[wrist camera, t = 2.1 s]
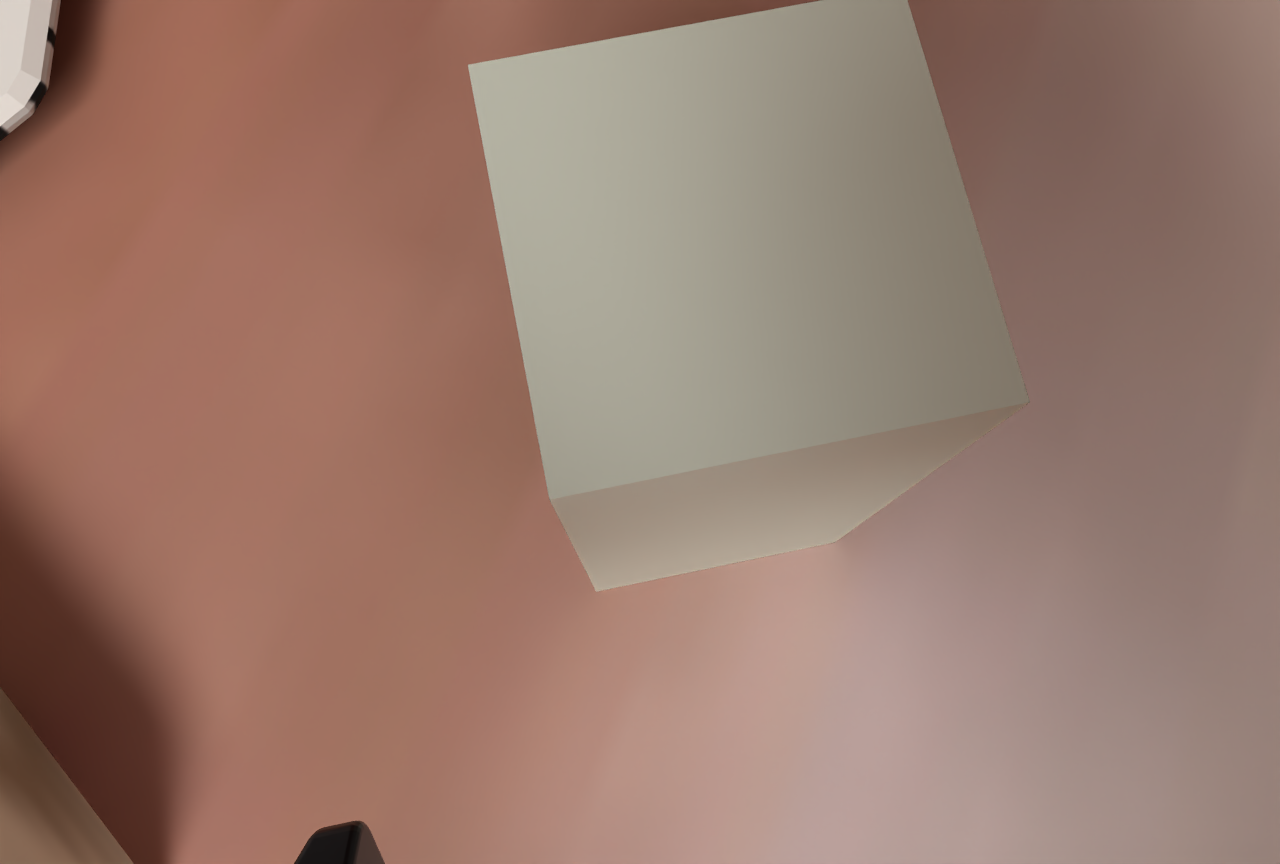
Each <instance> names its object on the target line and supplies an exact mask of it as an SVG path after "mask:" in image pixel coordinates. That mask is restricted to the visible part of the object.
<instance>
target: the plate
mask: <svg viewBox="0 0 1280 864" xmlns="http://www.w3.org/2000/svg"><path fill="white" fill-rule="evenodd" d="M60 3H61V0H0V141H1V140H2V139H3V138H4V137H6V136H7V135H8V134H9V133H11V132H12V131H13V130H14V129H15V128H17V127H18V126H19V125H20V124H22V123H23V122H24V121H25V120H27V119H28V118H29V117H30V116H32V115H33V113H34V112H35V110H36V108H37V107H38V105H39V103H40V102H41V100H42V98H43V97H44V95H45V93H46V92H47V90H48V87H49V80H50V73H51V66H52V59H53V52H54V45H55V38H56V31H57V24H58V17H59V10H60Z"/></svg>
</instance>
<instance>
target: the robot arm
mask: <svg viewBox="0 0 1280 864" xmlns="http://www.w3.org/2000/svg"><path fill="white" fill-rule="evenodd" d="M294 864H385V863H384V860H383V858H382V856H381V854H380V851H379V849H378V847H377V845H376V842H375V840H374V838H373V836H372V833H371V831H370V829H369V828H368V826H367V825H366V824H365V823H364V822H362V821H352V822H347V823H342V824H338V825H333V826H328V827H324V828H321V829H319V830H317V831H316V832H315V833H314V834H313V835H312V836H311V837H310V838H309V840H308V841H307V843H306V845H305V846H304V848H303V850H302V851H301V853H300V855H299V856H298V858H297V860H296V861H295V863H294Z"/></svg>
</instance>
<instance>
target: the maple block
mask: <svg viewBox="0 0 1280 864" xmlns="http://www.w3.org/2000/svg"><path fill="white" fill-rule="evenodd" d="M0 864H134V863H133V862H132V861H131V859H130V858H129V857H128V855H127V854H126V853H125V851H124V850H123V849H122V847H121V846H120V845H119V843H118V842H117V841H116V839H115V838H114V837H113V835H112V834H111V833H110V831H109V830H108V829H107V827H106V826H105V825H104V824H103V822H102V821H101V820H100V818H99V817H98V816H97V814H96V813H95V812H94V810H93V809H92V808H91V806H90V805H89V804H88V802H87V801H86V800H85V798H84V797H83V796H82V794H81V793H80V792H79V790H78V789H77V788H76V787H75V785H74V784H73V783H72V781H71V780H70V779H69V777H68V776H67V775H66V773H65V772H64V771H63V769H62V768H61V767H60V765H59V764H58V763H57V761H56V760H55V759H54V757H53V756H52V755H51V753H50V752H49V751H48V750H47V748H46V747H45V746H44V744H43V743H42V742H41V740H40V739H39V738H38V736H37V735H36V734H35V732H34V731H33V730H32V728H31V727H30V726H29V724H28V723H27V722H26V720H25V719H24V718H23V716H22V715H21V714H20V713H19V711H18V710H17V709H16V707H15V706H14V705H13V703H12V702H11V701H10V699H9V698H8V697H7V695H6V694H5V693H4V691H3V690H2V689H1V687H0Z"/></svg>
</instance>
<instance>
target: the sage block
mask: <svg viewBox="0 0 1280 864" xmlns="http://www.w3.org/2000/svg"><path fill="white" fill-rule="evenodd" d="M468 68H469V73H470V79H471V84H472V89H473V95H474V100H475V105H476V111H477V116H478V121H479V127H480V132H481V137H482V143H483V148H484V153H485V159H486V164H487V169H488V175H489V180H490V185H491V191H492V196H493V201H494V207H495V212H496V217H497V223H498V228H499V233H500V239H501V244H502V249H503V255H504V260H505V265H506V271H507V276H508V281H509V287H510V292H511V297H512V303H513V308H514V313H515V319H516V324H517V329H518V334H519V340H520V345H521V350H522V356H523V361H524V366H525V372H526V377H527V382H528V388H529V393H530V398H531V404H532V409H533V414H534V420H535V425H536V430H537V436H538V441H539V446H540V452H541V457H542V462H543V468H544V473H545V478H546V484H547V489H548V494H549V500H550V502H551V504H552V506H553V507H554V509H555V511H556V513H557V515H558V517H559V519H560V521H561V523H562V525H563V527H564V529H565V531H566V533H567V535H568V537H569V539H570V541H571V543H572V545H573V547H574V549H575V551H576V553H577V555H578V557H579V559H580V561H581V562H582V564H583V566H584V568H585V570H586V572H587V574H588V576H589V578H590V580H591V582H592V584H593V586H594V588H595V590H596V592H598V591H602V590H607V589H612V588H617V587H622V586H627V585H631V584H636V583H641V582H646V581H651V580H656V579H660V578H665V577H670V576H675V575H680V574H685V573H689V572H694V571H699V570H704V569H709V568H713V567H718V566H723V565H728V564H733V563H738V562H742V561H747V560H752V559H757V558H762V557H767V556H771V555H776V554H781V553H786V552H791V551H795V550H800V549H805V548H810V547H815V546H820V545H824V544H829V543H834V542H836V541H837V540H839V539H840V538H842V537H843V536H844V535H846V534H847V533H849V532H850V531H851V530H853V529H854V528H856V527H857V526H858V525H860V524H861V523H863V522H864V521H865V520H867V519H868V518H870V517H871V516H872V515H874V514H875V513H876V512H878V511H879V510H881V509H882V508H883V507H885V506H886V505H888V504H889V503H890V502H892V501H893V500H895V499H896V498H897V497H899V496H900V495H902V494H903V493H904V492H906V491H907V490H908V489H910V488H911V487H913V486H914V485H915V484H917V483H918V482H920V481H921V480H922V479H924V478H925V477H927V476H928V475H929V474H931V473H932V472H934V471H935V470H936V469H938V468H939V467H940V466H942V465H943V464H945V463H946V462H947V461H949V460H950V459H952V458H953V457H954V456H956V455H957V454H959V453H960V452H961V451H963V450H964V449H966V448H967V447H968V446H970V445H971V444H972V443H974V442H975V441H977V440H978V439H979V438H981V437H982V436H984V435H985V434H986V433H988V432H989V431H991V430H992V429H993V428H995V427H996V426H998V425H999V424H1000V423H1002V422H1003V421H1004V420H1006V419H1007V418H1009V417H1010V416H1011V415H1013V414H1014V413H1016V412H1017V411H1018V410H1020V409H1021V408H1023V407H1024V406H1025V405H1027V404H1028V403H1030V401H1029V398H1028V394H1027V391H1026V388H1025V384H1024V381H1023V378H1022V375H1021V371H1020V368H1019V365H1018V361H1017V358H1016V355H1015V352H1014V348H1013V345H1012V342H1011V338H1010V335H1009V332H1008V329H1007V325H1006V322H1005V319H1004V315H1003V312H1002V309H1001V306H1000V302H999V299H998V296H997V292H996V289H995V286H994V283H993V279H992V276H991V273H990V269H989V266H988V263H987V260H986V256H985V253H984V250H983V246H982V243H981V240H980V237H979V233H978V230H977V227H976V224H975V220H974V217H973V214H972V210H971V207H970V204H969V201H968V197H967V194H966V191H965V187H964V184H963V181H962V178H961V174H960V171H959V168H958V164H957V161H956V158H955V155H954V151H953V148H952V145H951V141H950V138H949V135H948V132H947V128H946V125H945V122H944V118H943V115H942V112H941V109H940V105H939V102H938V99H937V95H936V92H935V89H934V86H933V82H932V79H931V76H930V73H929V69H928V66H927V63H926V59H925V56H924V53H923V50H922V46H921V43H920V40H919V36H918V33H917V30H916V27H915V23H914V20H913V17H912V13H911V10H910V7H909V4H908V0H820V1H815V2H809V3H804V4H798V5H793V6H787V7H782V8H777V9H771V10H766V11H760V12H755V13H749V14H744V15H738V16H733V17H727V18H722V19H716V20H711V21H705V22H700V23H694V24H689V25H683V26H678V27H673V28H667V29H662V30H656V31H651V32H645V33H640V34H634V35H629V36H623V37H618V38H612V39H607V40H601V41H596V42H590V43H585V44H579V45H574V46H568V47H563V48H558V49H552V50H547V51H541V52H536V53H530V54H525V55H519V56H514V57H508V58H503V59H497V60H492V61H486V62H481V63H475V64H470V65H468Z"/></svg>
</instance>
